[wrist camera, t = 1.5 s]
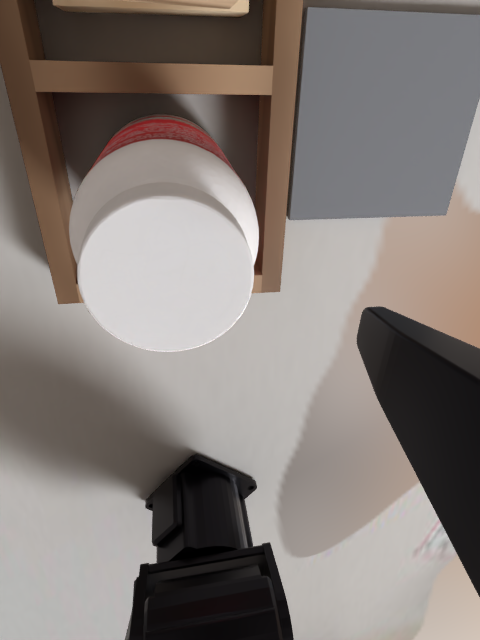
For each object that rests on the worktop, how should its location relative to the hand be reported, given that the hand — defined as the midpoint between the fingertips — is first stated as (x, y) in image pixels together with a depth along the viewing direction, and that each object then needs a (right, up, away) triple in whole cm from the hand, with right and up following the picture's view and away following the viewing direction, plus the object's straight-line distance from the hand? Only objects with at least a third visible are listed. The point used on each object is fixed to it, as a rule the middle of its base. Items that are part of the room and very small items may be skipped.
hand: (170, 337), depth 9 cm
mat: (+9, +10, +11) cm, 17 cm away
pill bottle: (-2, +7, +11) cm, 14 cm away
